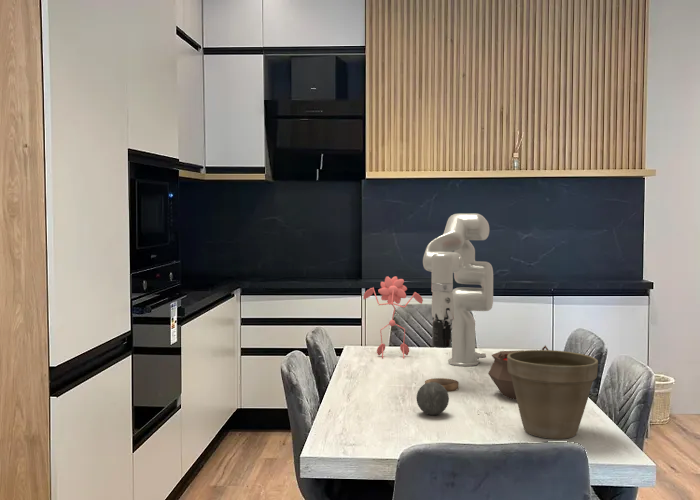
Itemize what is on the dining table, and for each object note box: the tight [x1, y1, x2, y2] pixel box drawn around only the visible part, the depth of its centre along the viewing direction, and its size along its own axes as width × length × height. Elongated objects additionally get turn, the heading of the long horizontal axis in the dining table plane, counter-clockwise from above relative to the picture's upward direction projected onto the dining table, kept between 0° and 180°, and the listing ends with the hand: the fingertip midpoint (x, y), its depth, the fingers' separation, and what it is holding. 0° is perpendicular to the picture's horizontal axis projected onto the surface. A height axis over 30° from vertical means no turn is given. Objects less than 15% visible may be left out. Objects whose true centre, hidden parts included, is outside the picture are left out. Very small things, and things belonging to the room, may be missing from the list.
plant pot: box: [507, 349, 599, 440], centre depth 208 cm, size 25×25×22 cm
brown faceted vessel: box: [487, 344, 549, 401], centre depth 250 cm, size 24×24×16 cm
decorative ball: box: [415, 382, 450, 416], centre depth 227 cm, size 10×10×10 cm
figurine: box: [363, 275, 424, 359], centre depth 321 cm, size 15×26×35 cm, turn 88°
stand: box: [424, 377, 460, 393], centre depth 262 cm, size 12×12×2 cm
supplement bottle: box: [431, 314, 452, 349], centre depth 261 cm, size 7×7×12 cm
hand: (441, 337), depth 261 cm, fingers closed on supplement bottle, 6 cm apart
